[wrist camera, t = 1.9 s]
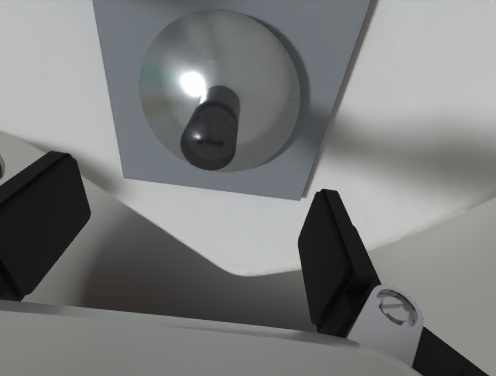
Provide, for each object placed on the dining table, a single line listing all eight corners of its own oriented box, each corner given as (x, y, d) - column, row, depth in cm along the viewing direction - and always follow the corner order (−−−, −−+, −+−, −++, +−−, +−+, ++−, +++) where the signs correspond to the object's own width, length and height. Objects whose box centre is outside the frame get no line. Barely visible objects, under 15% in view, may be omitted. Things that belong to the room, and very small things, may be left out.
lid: (133, -7, 15) (62, -8, 9) (319, 25, 15) (355, 41, 10) (150, 158, 21) (115, 213, 16) (280, 174, 22) (288, 233, 17)
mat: (84, -75, 13) (78, -77, 13) (373, -18, 15) (377, -18, 14) (126, 174, 23) (123, 178, 22) (299, 196, 24) (299, 200, 24)
